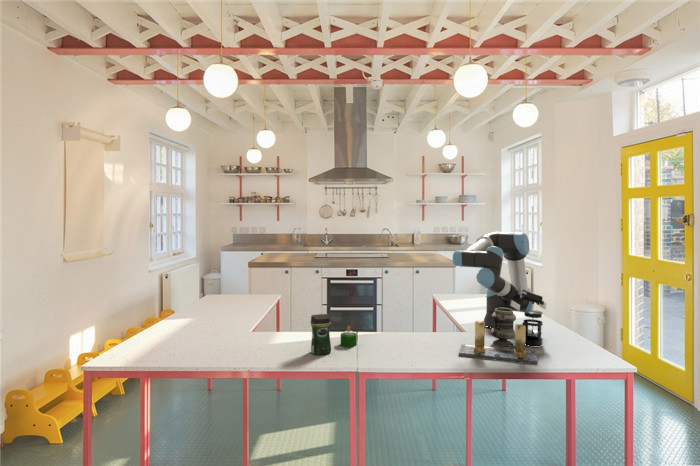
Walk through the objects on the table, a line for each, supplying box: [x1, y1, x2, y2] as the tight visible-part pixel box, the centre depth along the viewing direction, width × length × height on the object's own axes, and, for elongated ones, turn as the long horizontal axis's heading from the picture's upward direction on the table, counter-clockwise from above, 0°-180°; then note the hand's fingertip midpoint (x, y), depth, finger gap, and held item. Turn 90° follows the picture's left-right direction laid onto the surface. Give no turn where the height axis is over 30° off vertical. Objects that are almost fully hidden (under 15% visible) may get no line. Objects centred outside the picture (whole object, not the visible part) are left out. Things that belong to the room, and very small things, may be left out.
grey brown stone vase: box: [490, 308, 517, 347], centre depth 214 cm, size 12×12×18 cm
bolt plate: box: [458, 323, 539, 365], centre depth 196 cm, size 34×14×15 cm, turn 70°
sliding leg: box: [474, 320, 486, 353], centre depth 197 cm, size 5×8×14 cm, turn 160°
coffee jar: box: [310, 313, 332, 356], centre depth 200 cm, size 10×8×19 cm
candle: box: [340, 325, 358, 348], centre depth 212 cm, size 8×8×10 cm
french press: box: [521, 302, 544, 347], centre depth 213 cm, size 12×9×23 cm
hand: (532, 307), depth 197 cm, fingers open, 13 cm apart
